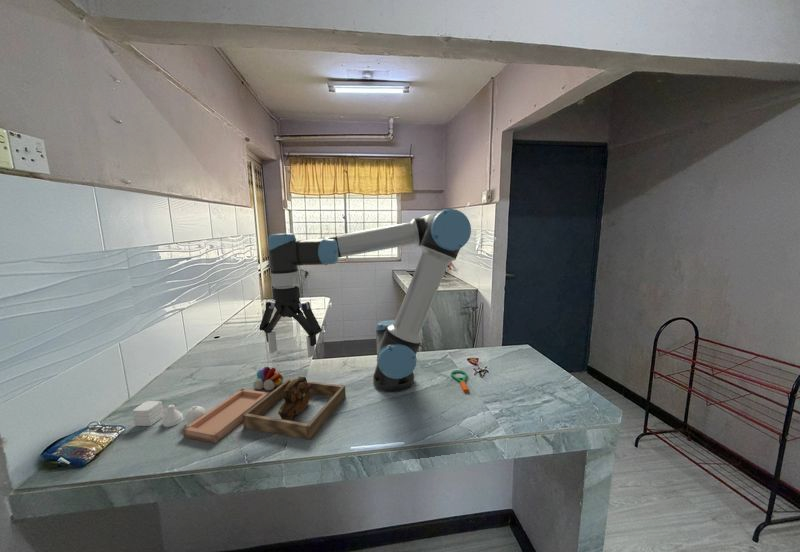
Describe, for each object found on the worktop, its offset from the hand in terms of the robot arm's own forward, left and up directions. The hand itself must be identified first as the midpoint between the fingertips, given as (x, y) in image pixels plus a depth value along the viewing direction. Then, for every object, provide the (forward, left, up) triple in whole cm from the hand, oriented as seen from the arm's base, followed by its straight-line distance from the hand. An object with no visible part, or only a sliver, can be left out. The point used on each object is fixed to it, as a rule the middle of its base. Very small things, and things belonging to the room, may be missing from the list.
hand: (292, 353), depth 96 cm
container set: (+33, +14, -19) cm, 41 cm away
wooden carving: (-1, +1, -19) cm, 19 cm away
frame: (-1, +1, -19) cm, 19 cm away
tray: (+18, +8, -19) cm, 27 cm away
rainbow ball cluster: (+19, -11, -19) cm, 29 cm away
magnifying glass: (-49, -30, -19) cm, 60 cm away
